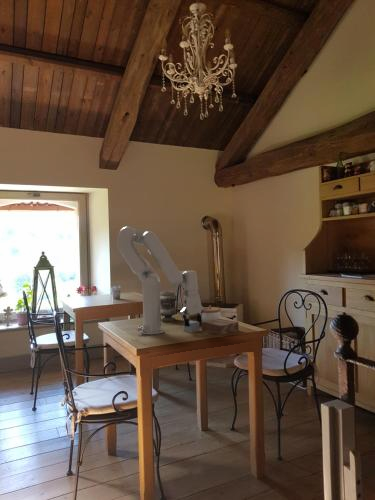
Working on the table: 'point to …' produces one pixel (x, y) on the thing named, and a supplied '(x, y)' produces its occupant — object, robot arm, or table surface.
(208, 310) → the lidded bowl
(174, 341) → the table surface
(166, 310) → the apothecary jar
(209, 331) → the walnut block
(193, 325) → the slate block
